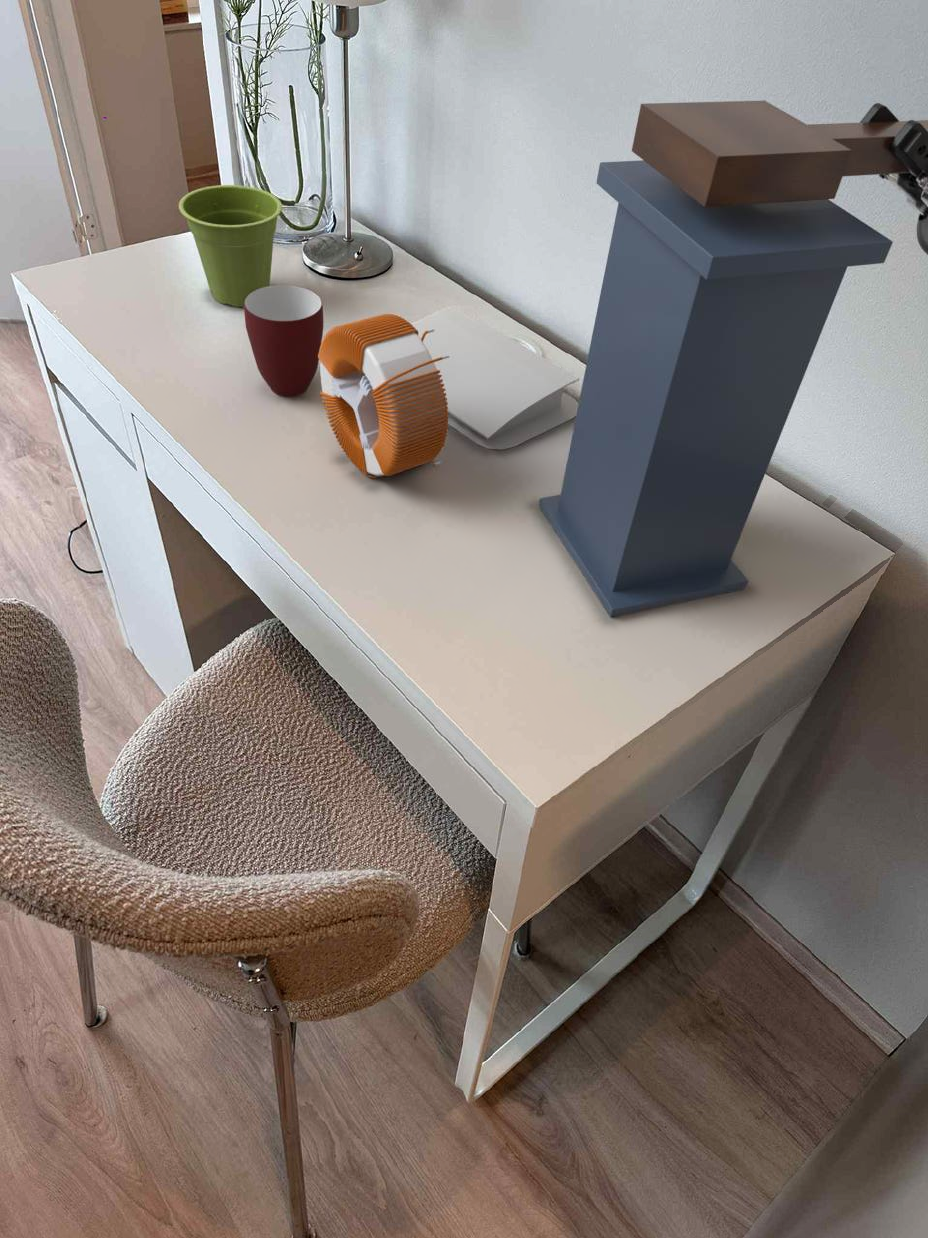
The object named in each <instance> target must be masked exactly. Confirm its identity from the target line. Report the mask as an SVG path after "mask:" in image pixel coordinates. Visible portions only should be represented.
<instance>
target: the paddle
mask: <svg viewBox="0 0 928 1238" xmlns="http://www.w3.org/2000/svg"><path fill="white" fill-rule="evenodd" d="M908 121H909V120H899V121H892V122H864V123H860V122H839V123H837V122H836V123H814V124H813V123H812V124H807V123H805V122H803V121H801V120H800V119H798V118H796V117H794V116H792V115H791V114H789V113H787V112H786V111H785V110H783V109H781V108H779V107H777V106H775V105H774V104H772V103H770V102H768V101H766V100H733V101H731V100H729V101H728V100H727V101H695V102H694V101H693V102H692V101H689V102H656V103H655V102H654V103H652V102H651V103H641V104H640V107H639V111H638V117H637V121H636V126H635V130H634V137H633V142H632V147H631V152H632V153H633V154H634V155H636V156H637V157H639V159H641V160H644V161H645V162H646V163H648V164H649V165H650V166H652V167H653V168H654V169H656V170H657V171H658V172H659V173H661V174H662V175H663V176H665V177H666V178H667V179H669V180H670V181H671V182H672V183H674V184H675V185H676V186H678V187H679V188H680V189H682V190H683V191H684V192H685V193H687V194H688V195H689V196H691V197H692V198H693V199H695V200H696V201H697V202H698V203H700V204H701V205H702V206H704V207H718V206H733V205H748V204H763V203H778V202H794V201H809V200H824V199H829V200H835V198H836V197H837V193H838V190H839V188H840V186H841V182H842V180H843V177H858V176H859V177H860V176H877V175H878V176H879V174H895V173H910V172H909V171H908V170H907V169H906V168H905V167H904V166H903V165H902V163H901V162H900V161H899V160H898V159H897V158H896V157H895V156H894V155H893V154H892V153H891V152H890V151H889V146H890V144H891V142H892V141H893V139H894V138H895V136H896V135H897V134H898V132H899V131H900V130H901V129H902V127H903V126H904V125H905V124H906V123H907V122H908ZM915 121H916V122H918V123H920V124H921V125H922V126H923V127H924V128H925V129H926V130H927V131H928V119H926V120H925V119H921V120H915Z"/></svg>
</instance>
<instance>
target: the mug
mask: <svg viewBox="0 0 928 1238" xmlns="http://www.w3.org/2000/svg"><path fill="white" fill-rule="evenodd" d="M243 311H244V312H243V313H244V323H245V329H246V334H247V336H248V341H249V344H250V347H251V351H252V354H253V357H254V361H255V363H256V367H257V370H258V371H259V374H260V376H261V377H262V379H263V380H264V382H265V383H266V385H267V386H268V387H269V389H270V390H271V391H272V392H273V394H275V395H278V396H280V397H286V398H293V397H299V396H301V395H303V394H305V392H307V390H308V389H309V387H310V386H311V384H312V382H313V380H314V377H315V376H316V373H317V371H318V368H319V362H320V360H319V358H318V354H319V349H320V346H321V343H322V340H323V334H324V307H323V300H322V299H321V297H320V296H319V294H317V293H316V292H314V291H312V290H310V289H307V288H305V287H302V286H297V285H290V284H276V285H270V286H267V287H263V288H260V289H257V290H255V291H253V292H251V293H250V294H249V295H248V296H247V297H246V298H245V300H244V307H243Z"/></svg>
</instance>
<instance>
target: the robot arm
mask: <svg viewBox="0 0 928 1238" xmlns="http://www.w3.org/2000/svg"><path fill="white" fill-rule="evenodd" d="M892 121H900V120H899V119H898V118H897V117H896V116H895V115H894V113H893V112H892V111H891V110H890V109H889V108H888V107H887V106H886V105H884V104H883V103H880V102H875V103H874V104H873V105H872V106H871V107H870V108H869V110H868V111H867V112H866V114H865V115H864V116H863V117H862V119H861V120H860V121H859V123H864V122H892ZM907 121H908V122H907V123H906V124H905V125H904V126H903V127H902V129H901V130H900V131H899V132H898V134H897V135H896V136H895V138H894V139H893V141H892V142H891V144H890V146H889V151H890V152H891V153H892V154H893V155H894V156H895V157H896V158H897V159H898V160H899V161H900V162H901V163H902V165H903V166H904V167H905V168H906V169H907V170H908V171H909V172H910V173H895V174H878V177H879V178H880V179H882V180H886V181H889V182H890V183H891V184H892V185H893V186H894V187H895V188H896V189H897V190H898V191H899V192H901V194H903V195H904V196H905V197H906V203H907V204H908V205H909V206H910V207H911V208H912V209H913V210H914V211H916V212H917V213H919V215H918V218H917V224H916V239H917V242H918V245H919V247H920V248H921V250H922V251H923V252H924V253H925V254H926V255H927V256H928V131H927V130H926V129H925V128H924V127H923V126H922V125H921V124H920V123H918V122H916V121H917V120H914V119H910V120H907Z"/></svg>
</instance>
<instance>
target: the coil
mask: <svg viewBox="0 0 928 1238" xmlns="http://www.w3.org/2000/svg"><path fill="white" fill-rule="evenodd" d="M411 324H412V323H411V322H410V321H408V320H407V319H405V318H404V317H402V316H399V315H396V314H394V313H383V314H379V315H375V316H372V317H371V316H370V317H367V318H363V319H360V320H356V321H352V322H347V323H345V324H341V325H337V326H335V327H332V328H331V329H330V330H328V331H327V332H326V333H325V335H324V337H322V342H321V346H320V349H319V354H318V358H319V362H320V365H319V366H320V367H319V368H320V369H319V374H320V384H321V391H320V395H321V396H320V398H321V399H322V400H321V402H322V403H323V405H322V406H323V407H324V411H325V415H328V416H327V418H326V419H328V423H329V426H330V427H331V431H333V435H335V436H334V437H335V439H336V440H337V442H338V444H339V446H340V448H341V449H342V451H343V452H344V454H345V455H346V457H347V458H348V459H349V461H350V462H351V463H352V464H353V465H354V466H355V467H356V469H358V470H359V471H360V472H361V473H363V474H364V475H365V476H366V477H368V478H380V477H381V478H382V477H385V476H386V477H390V476H393V475H396V474H398V473H401V472H404V471H408V470H410V469H412V468H415V467H419V466H421V465H423V464H426V463H430V464H431V466H432V467H435V466H438V465H441V464H442V462H441V461H437V462H434V460H435V459H436V458H437V457H438V456H439V455H440V453H441V452H442V450H443V448H444V446H445V443H446V440H447V437H448V430H449V424H448V422H449V420H448V418H449V416H448V413H449V412H448V406H447V405H448V402H446V400H447V398H446V397H445V396H446V393H443V392H444V391H445V390H446V389H445V388H442V387H444V384H441V382H443V379H440V377H442V375H438V373H440V370H437V369H436V366H435V364H434V362H436V361H439V360H442V359H446V358H449V355H446V356H443V357H439V358H436V359H433V360H432V358H431V356H430V353H429V351H428V350H427V348H426V346H425V345H424V343H423V340H424V338H425V335H426V334H427V333H430V332H434V329H430V330H427V331H425V332H424V333H423V335H422V338H421V339H420V337H419V336H418V330H416V328H415V327H413V325H411Z"/></svg>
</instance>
